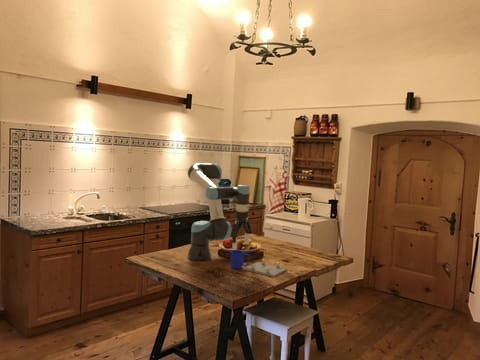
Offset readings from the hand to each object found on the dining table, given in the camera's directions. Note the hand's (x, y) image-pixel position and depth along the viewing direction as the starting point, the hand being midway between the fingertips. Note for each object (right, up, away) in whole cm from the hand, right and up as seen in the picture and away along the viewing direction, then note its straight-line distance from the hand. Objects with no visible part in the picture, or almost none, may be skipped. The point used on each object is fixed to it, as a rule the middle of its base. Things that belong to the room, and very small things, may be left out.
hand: (240, 246), depth 241 cm
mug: (-1, -14, +1) cm, 14 cm away
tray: (+15, -14, 0) cm, 21 cm away
